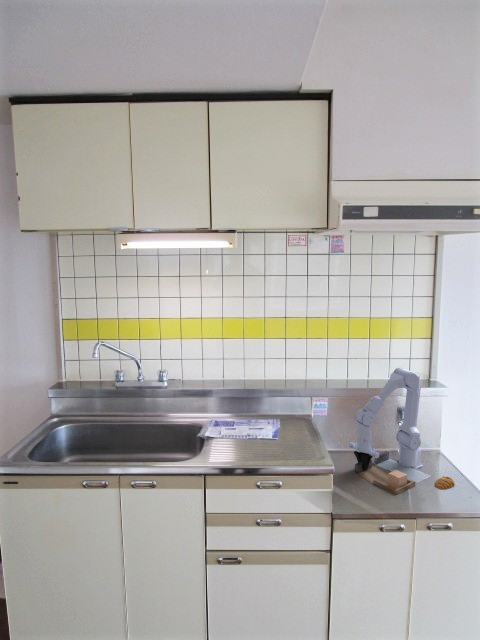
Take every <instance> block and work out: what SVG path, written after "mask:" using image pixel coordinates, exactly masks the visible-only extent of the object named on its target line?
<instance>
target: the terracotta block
mask: <svg viewBox="0 0 480 640" xmlns="http://www.w3.org/2000/svg"><path fill="white" fill-rule="evenodd" d="M387 473H388V485H389V486H391V487H393V488H395V489H398V488H400V487H402V486H404V485H406V484H407V474H404V473H402V472H400V471H398V470H395V471H393V472H391V471H390V472H387Z"/></svg>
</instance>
